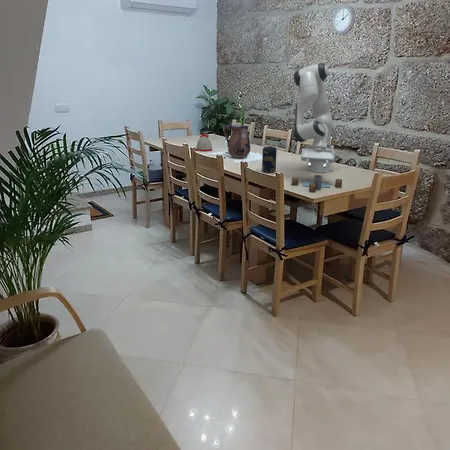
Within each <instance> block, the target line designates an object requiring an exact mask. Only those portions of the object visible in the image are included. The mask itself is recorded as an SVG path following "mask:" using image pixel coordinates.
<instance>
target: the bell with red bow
mask: <svg viewBox="0 0 450 450" xmlns="http://www.w3.org/2000/svg"><path fill="white" fill-rule="evenodd" d="M200 134H201V135H199V137H200V138H199V139H198V141H197V143H196V149H195V150H196V152H206V153H207V152H211V151H213V146H212V141H211V140H210V139H209V135H210V134H208V133H205V132H202V133H200Z"/></svg>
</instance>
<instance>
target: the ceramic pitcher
mask: <svg viewBox="0 0 450 450" xmlns="http://www.w3.org/2000/svg"><path fill="white" fill-rule="evenodd" d="M227 129H230V130H231V135H230V137H228V135H227ZM248 129H249V126H248V125H244V124H235V125H234V124H233V125H226V126H225V127H224V129H223V135H224V138H225V140H226V144H227V145H226V146H227V150H228V154H229V155H230V157H232V158H233V159H238V160H239V159H246V158H247V157H248V156H249V154H250V152H251V143H250V137H249V134H248V133H249V132H248V131H249V130H248Z"/></svg>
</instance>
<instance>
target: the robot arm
mask: <svg viewBox="0 0 450 450" xmlns="http://www.w3.org/2000/svg"><path fill="white" fill-rule="evenodd" d="M328 76H329V68H328V66H327V65H326V64H325V62H319V63H315V64H311V65H308V66H305V67H304V68H301V69H297V70H296V71H295V72H294V73H293V82H294V84H295V85H296V86H297V87H299V97H298V101H297V102H296V104H295V118H294V129H293V137H294V140H296V141H297V142H299V143H304V142H306V141H308V140H311V139H313V141H312V146H311V147H310V146H308V147H307V146H305V147H303V148H302V149H301V155H300V157H301V159H300V160H301V161H303V162H306V164H307V166H306V168H305V169H306V170H307V171H310V172H314V173H329V172H334V168H332V164H333V163H335V160H336V153H335V147H334V145H333V144H331V137H332V127H333V117H332V116H333V115H332V112H331V107H330V104H329V99H328V94H327V89H326V85H325V83H324V82H325V80H326V79H327V78H328ZM309 107H311V108H312V112H313V115H314V119H315V120H313V121H310V122H309V121H308V123H305V121H304V120H305V112H306V111H307V109H308V108H309ZM304 123H305V124H304Z"/></svg>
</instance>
